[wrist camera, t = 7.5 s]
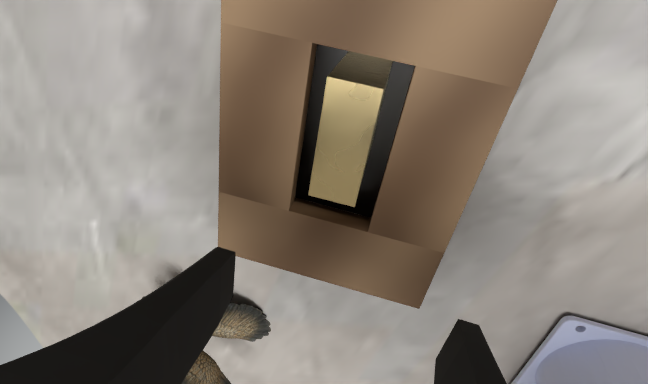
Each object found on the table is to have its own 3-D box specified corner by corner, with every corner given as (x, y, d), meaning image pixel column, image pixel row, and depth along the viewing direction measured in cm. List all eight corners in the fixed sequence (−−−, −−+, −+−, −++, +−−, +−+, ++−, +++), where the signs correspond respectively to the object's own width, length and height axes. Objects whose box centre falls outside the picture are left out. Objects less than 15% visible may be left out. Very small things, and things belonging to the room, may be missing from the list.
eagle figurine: (152, 340, 31) (243, 398, 30) (82, 375, 24) (196, 453, 23) (191, 257, 31) (285, 310, 30) (132, 268, 24) (250, 338, 23)
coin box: (531, -40, 14) (575, -40, 10) (420, 242, 22) (419, 308, 18) (278, -87, 15) (222, -106, 11) (255, 197, 23) (218, 250, 19)
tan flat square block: (393, 58, 17) (383, 89, 13) (369, 155, 20) (354, 207, 16) (350, 49, 17) (327, 76, 13) (332, 146, 20) (308, 195, 16)
